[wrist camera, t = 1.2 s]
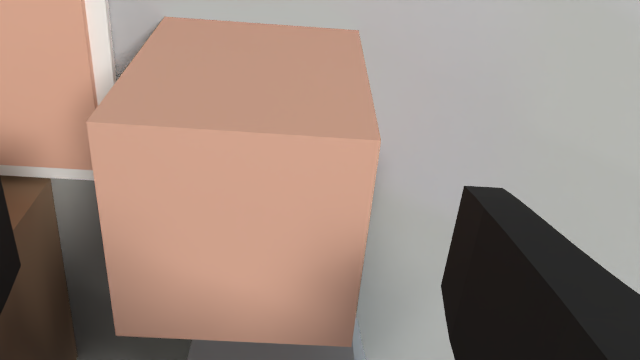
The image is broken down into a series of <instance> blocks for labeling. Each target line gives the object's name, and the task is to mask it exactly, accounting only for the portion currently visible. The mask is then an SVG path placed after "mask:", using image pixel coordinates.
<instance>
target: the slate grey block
mask: <svg viewBox="0 0 640 360" xmlns="http://www.w3.org/2000/svg"><path fill="white" fill-rule="evenodd" d="M187 360H366V358H365V353H364V349H363V344H362V339H361V335H360V330H359V325H358V321H357V316H356V318H355V325H354V332H353V339H352V346H351V347H339V346H318V345H297V344H276V343H256V342H235V341H214V340H193V339H192V341H191V345H190V350H189V354H188V358H187Z"/></svg>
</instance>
